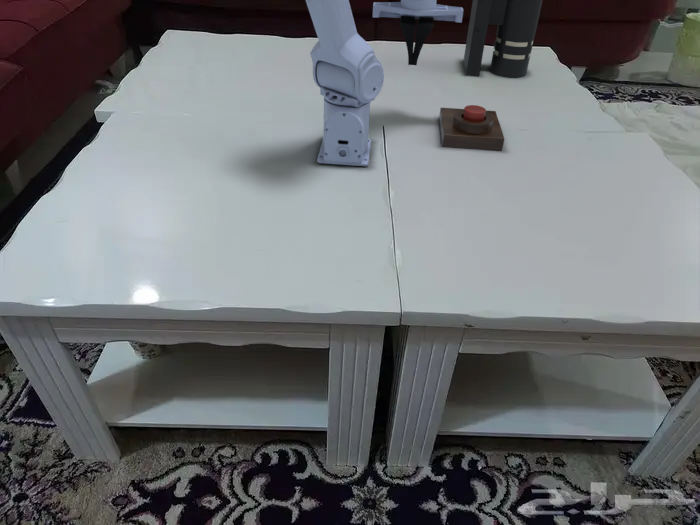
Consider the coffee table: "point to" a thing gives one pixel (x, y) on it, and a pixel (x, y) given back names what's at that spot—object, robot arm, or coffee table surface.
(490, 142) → the switch block
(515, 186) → the coffee table surface
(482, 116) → the button
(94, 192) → the coffee table surface
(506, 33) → the light fixture
